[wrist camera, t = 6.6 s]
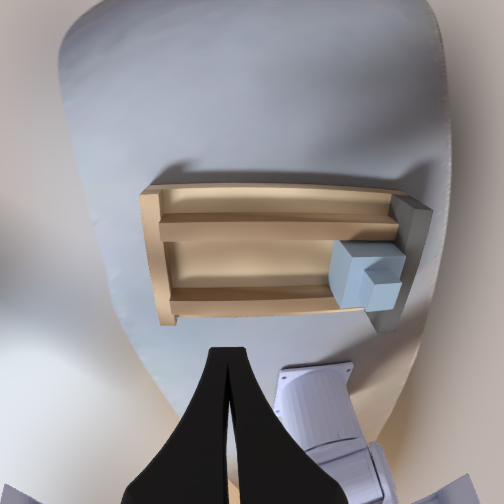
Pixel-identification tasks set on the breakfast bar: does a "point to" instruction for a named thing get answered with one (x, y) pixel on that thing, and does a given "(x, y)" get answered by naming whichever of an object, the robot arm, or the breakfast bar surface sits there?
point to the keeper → (365, 274)
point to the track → (269, 246)
